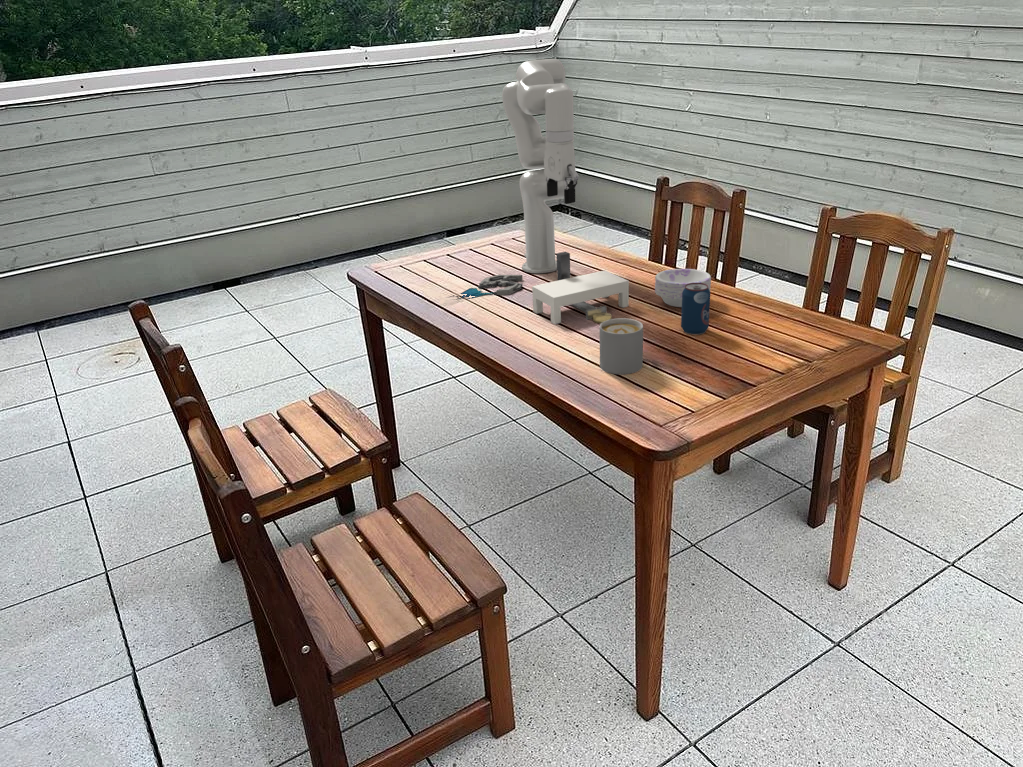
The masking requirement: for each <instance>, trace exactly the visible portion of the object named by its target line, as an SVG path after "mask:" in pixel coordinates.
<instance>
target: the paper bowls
mask: <svg viewBox="0 0 1023 767" xmlns="http://www.w3.org/2000/svg"><path fill="white" fill-rule="evenodd" d="M654 280H655V282H654V293H655V294H656V295H657V296H659V297H661V299H662V301H663V302H664V303H665V304H667V305H668V306H671V307H674V308H675V307H676V308H682V292H683V290H684V288H685V285H686V284H689V283H704V284H707V285H708V289H709V291H710V292H711V287H712V286H711V283H712V276H711V275H710V273H708V272H706V271H704V270H701V269H694V268H672V269H666V270H662V271H660V272H658V273H657V274H656V275H655V278H654Z"/></svg>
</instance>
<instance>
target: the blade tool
mask: <svg viewBox="0 0 1023 767" xmlns="http://www.w3.org/2000/svg"><path fill="white" fill-rule="evenodd" d="M555 256H556V261H557V270H556V277H557V278H556V279H557V280H556V281H558V280H563V279H568V278H571V253H570V252H568V251H561V252H555ZM570 306H573V307H574V308H577V309H578V310H580V311H582V312H584V313H585V319H586V320H593V315H594V314H596V313H600V312H605V313H608V312H607V306H606V305H602V306H599V307H596V306H594V305H593V304H591V303H588V302H587V301H584V302H579V303H575V304H571V305H570Z"/></svg>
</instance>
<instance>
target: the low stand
mask: <svg viewBox="0 0 1023 767" xmlns="http://www.w3.org/2000/svg"><path fill="white" fill-rule="evenodd" d="M629 284H630V281H629V280H628V279H627V278H623V277H622V276H620V275H616V274H614V273H612V272H609V271H607V270H600V271H596V272H592V273H587V274H583V275H577V276H573V277H570V278H568V279H563V280H558V281H557V280H554V281H550V282H546V283H541V284H537V285H532V286H531V288H532V289H531V290H532V291H531V292H532V312H533V313H535V314H541V313H544V304H545V305H547V306H549V307H550V322H551V324H553V325H558V324H562V314H561V313H562V310H561V308H562V307H567V306H572V305H571V304H575V303H579V302H584V301H585V302H588V301H592V300H595V299H600V298H603V299H605V298H609V296H614V295H617V294H618V306H619V307H620V308H627V307H629V305H630V304H629V296H630V295H629V290H630V289H629V288H630V285H629ZM543 303H544V304H543Z"/></svg>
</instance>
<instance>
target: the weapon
mask: <svg viewBox="0 0 1023 767" xmlns="http://www.w3.org/2000/svg"><path fill="white" fill-rule="evenodd" d="M522 281H523V274H496V275H492V276H489V277H486V278H485V277H484V278H483V279H482V280H481V281H480V282H479V284H478V286H477V287H470V288H468V289H466V290H464V291H463V292H461V293H460V294H467V295H466V296H465V295H463V296H462V298H464V297H469V296H470V295H471V296H475V297H472V298H471V299H474V298H478V297H481V296H485V295H491V294H492V295H497V296H503V295H510V294H513V293H515V292H517V291H519V290H521V288H522V287H523V283H521V282H522ZM497 286H499V287H504V288H498V289H497V290H495V291H494V292H482V289H488V288H494V287H497ZM505 286H506V287H505ZM480 289H481V290H480ZM459 300H461V298H459ZM467 300H470V298H467Z"/></svg>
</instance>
